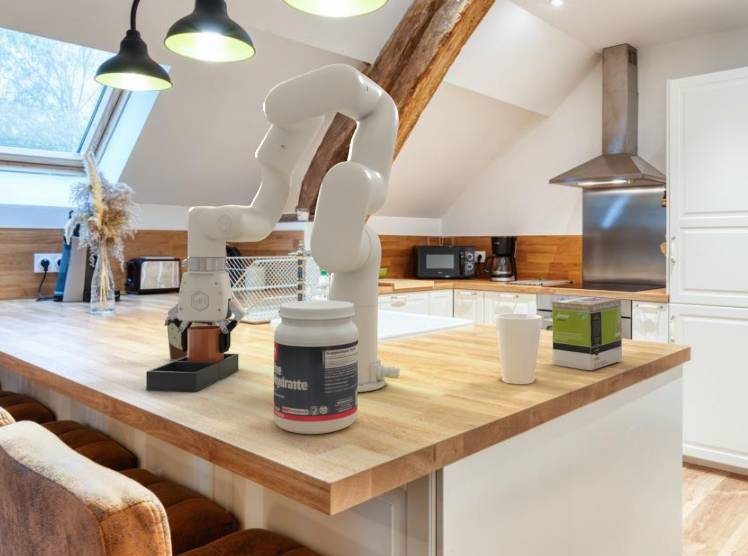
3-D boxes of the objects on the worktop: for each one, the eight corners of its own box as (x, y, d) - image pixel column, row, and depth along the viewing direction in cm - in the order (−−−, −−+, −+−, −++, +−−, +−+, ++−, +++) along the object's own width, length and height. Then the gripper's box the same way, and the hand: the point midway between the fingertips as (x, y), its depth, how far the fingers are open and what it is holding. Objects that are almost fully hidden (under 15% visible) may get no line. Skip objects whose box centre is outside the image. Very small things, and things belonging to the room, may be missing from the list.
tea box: (584, 356, 151) (584, 295, 151) (623, 362, 144) (623, 298, 144) (550, 364, 140) (551, 299, 140) (591, 371, 133) (591, 303, 133)
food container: (226, 356, 146) (226, 314, 146) (215, 361, 140) (215, 318, 140) (177, 355, 148) (177, 313, 148) (164, 360, 142) (164, 316, 142)
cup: (229, 367, 131) (229, 325, 131) (214, 375, 124) (214, 330, 123) (197, 366, 132) (197, 324, 132) (180, 374, 124) (180, 329, 124)
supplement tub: (255, 425, 93) (256, 304, 93) (319, 407, 103) (320, 298, 103) (311, 443, 85) (312, 311, 85) (375, 422, 95) (376, 303, 95)
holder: (195, 368, 133) (195, 352, 133) (238, 370, 132) (238, 353, 132) (146, 390, 114) (146, 371, 114) (196, 392, 113) (196, 373, 113)
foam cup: (488, 383, 122) (489, 317, 122) (500, 373, 130) (501, 312, 130) (536, 387, 118) (537, 320, 118) (545, 377, 127) (546, 314, 127)
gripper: (157, 266, 125) (156, 353, 125) (239, 267, 123) (238, 356, 123) (176, 264, 132) (175, 346, 132) (253, 265, 130) (253, 349, 130)
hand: (205, 350), depth 128 cm, fingers closed on cup, 7 cm apart
